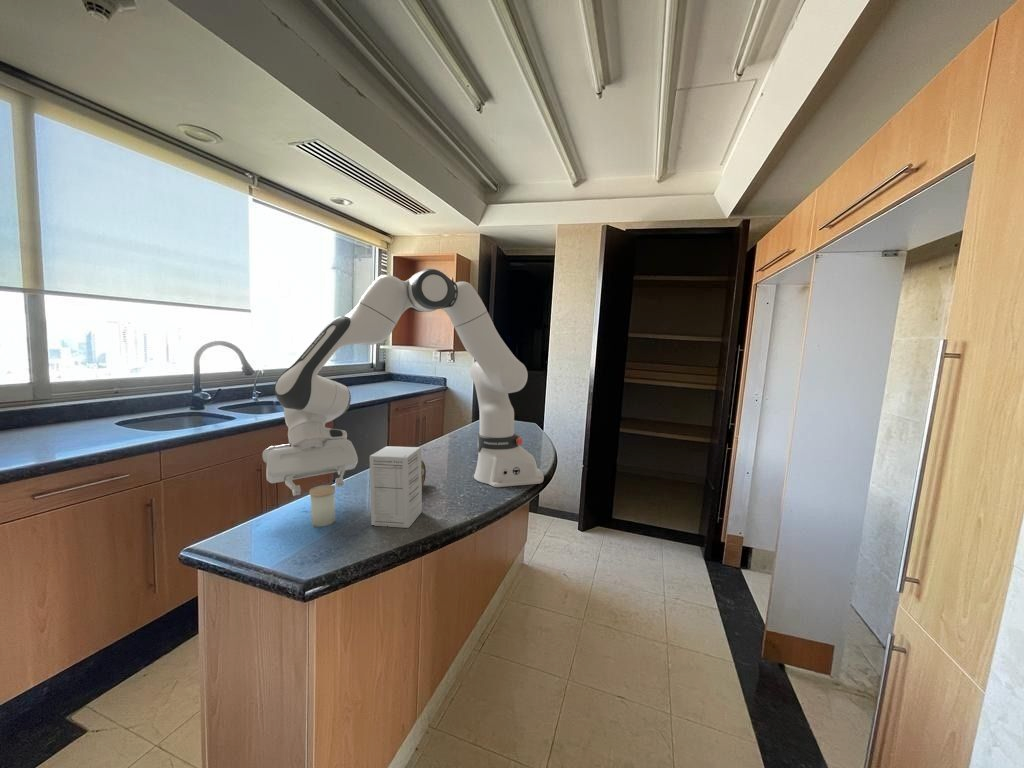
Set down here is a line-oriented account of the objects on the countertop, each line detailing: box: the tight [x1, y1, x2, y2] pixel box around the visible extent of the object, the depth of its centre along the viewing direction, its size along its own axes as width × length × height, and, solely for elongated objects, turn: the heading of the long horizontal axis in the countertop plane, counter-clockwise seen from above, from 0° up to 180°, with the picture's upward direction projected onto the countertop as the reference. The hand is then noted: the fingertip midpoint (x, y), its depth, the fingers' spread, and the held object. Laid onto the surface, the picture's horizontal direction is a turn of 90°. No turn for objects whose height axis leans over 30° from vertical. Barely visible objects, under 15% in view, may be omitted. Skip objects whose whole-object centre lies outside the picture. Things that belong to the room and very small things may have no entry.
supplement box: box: [369, 445, 423, 529], centre depth 91 cm, size 10×9×17 cm
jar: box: [309, 484, 336, 527], centre depth 89 cm, size 5×5×8 cm
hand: (319, 489), depth 91 cm, fingers open, 8 cm apart
